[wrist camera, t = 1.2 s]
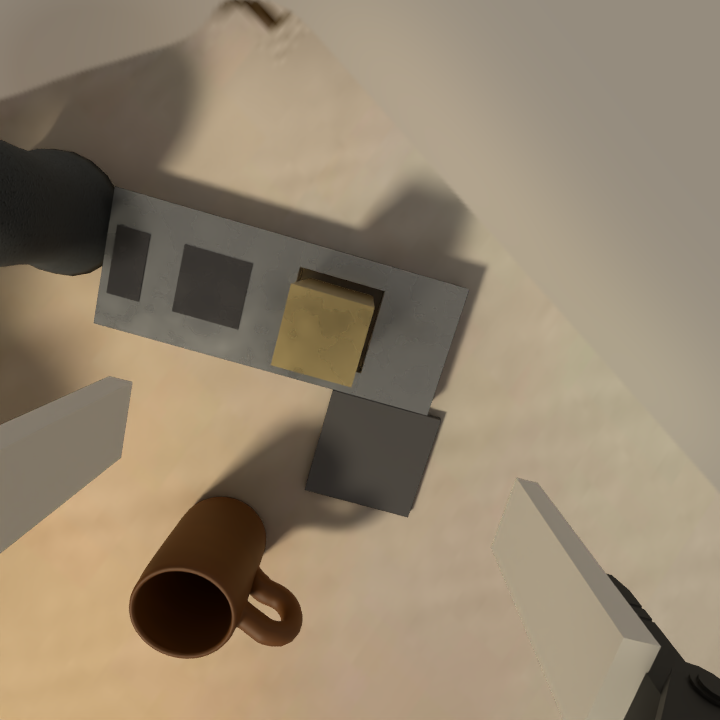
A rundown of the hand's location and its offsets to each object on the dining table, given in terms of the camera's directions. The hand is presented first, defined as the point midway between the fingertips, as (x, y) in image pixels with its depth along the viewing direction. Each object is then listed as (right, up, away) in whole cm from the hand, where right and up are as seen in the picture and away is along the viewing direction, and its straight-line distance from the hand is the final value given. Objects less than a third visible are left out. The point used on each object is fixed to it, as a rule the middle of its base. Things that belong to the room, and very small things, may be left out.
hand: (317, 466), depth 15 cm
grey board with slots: (-5, +8, +20) cm, 22 cm away
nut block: (-1, +7, +20) cm, 22 cm away
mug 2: (-8, -12, +25) cm, 29 cm away
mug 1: (-22, +15, +19) cm, 33 cm away
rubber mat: (+2, -4, +23) cm, 23 cm away
